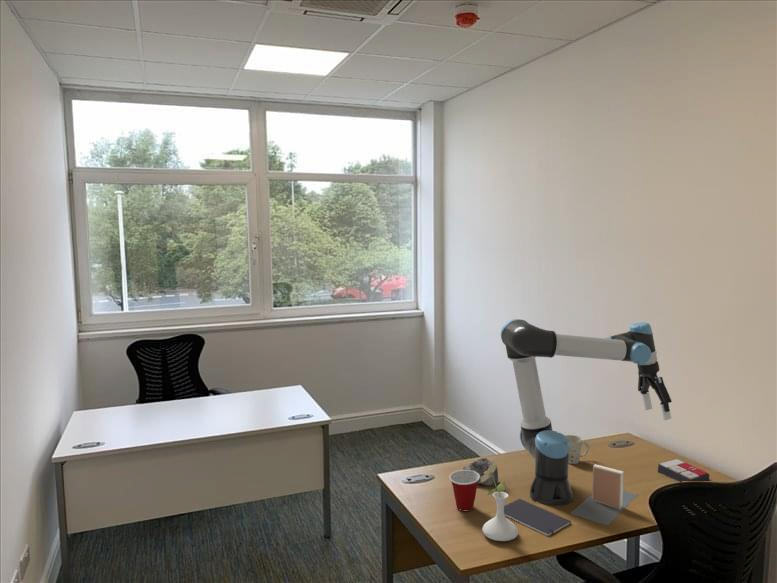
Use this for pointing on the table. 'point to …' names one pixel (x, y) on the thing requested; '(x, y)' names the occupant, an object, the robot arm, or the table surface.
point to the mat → (602, 509)
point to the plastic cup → (464, 488)
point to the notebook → (535, 517)
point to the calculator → (682, 471)
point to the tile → (607, 486)
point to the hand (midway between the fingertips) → (657, 414)
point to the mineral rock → (483, 470)
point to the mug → (575, 448)
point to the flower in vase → (498, 513)
